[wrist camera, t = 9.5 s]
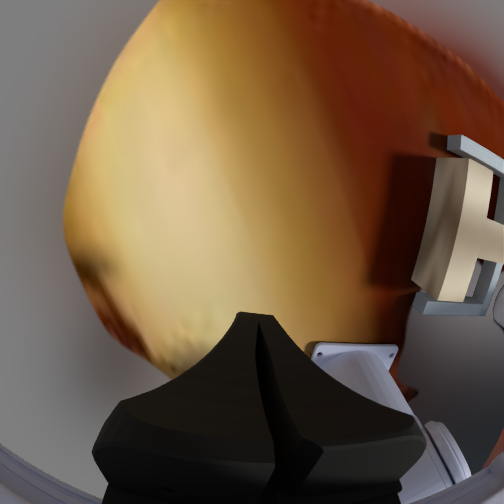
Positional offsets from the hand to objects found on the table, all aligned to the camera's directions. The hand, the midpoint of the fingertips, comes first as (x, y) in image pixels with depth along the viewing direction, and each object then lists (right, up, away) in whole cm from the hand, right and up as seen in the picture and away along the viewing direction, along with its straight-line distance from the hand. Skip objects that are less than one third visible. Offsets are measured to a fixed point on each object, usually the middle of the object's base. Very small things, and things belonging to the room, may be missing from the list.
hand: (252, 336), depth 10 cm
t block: (+18, +5, +8) cm, 20 cm away
